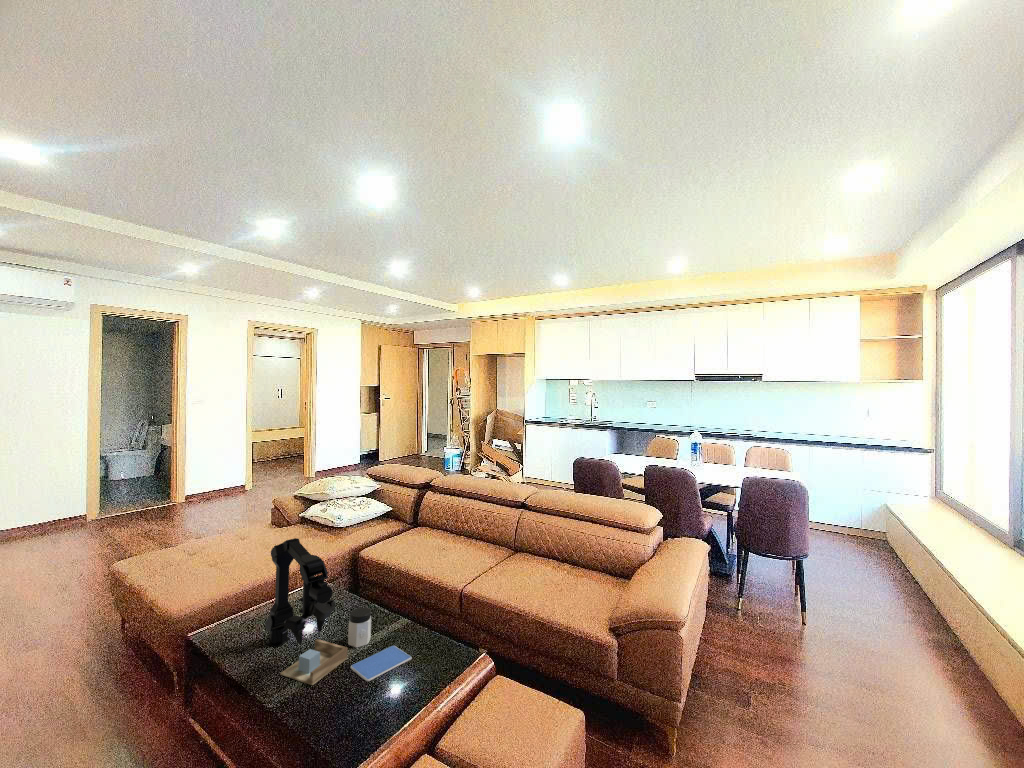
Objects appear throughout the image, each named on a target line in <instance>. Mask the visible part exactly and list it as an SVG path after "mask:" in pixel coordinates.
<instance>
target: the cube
mask: <svg viewBox="0 0 1024 768" xmlns="http://www.w3.org/2000/svg"><path fill="white" fill-rule="evenodd" d="M298 661H299V671H302V672H305V673H310V672H312V671H313V670H314V669H316V668H317V667H319V666H320V652H318V651H315V649H311V648H309V649H308V650H306V651H305V652H303V653H302V654H300V655H298Z"/></svg>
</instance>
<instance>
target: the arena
mask: <svg viewBox="0 0 1024 768" xmlns="http://www.w3.org/2000/svg"><path fill="white" fill-rule="evenodd" d="M348 649H349V648H348V647H347V646H343V645H339V644H336V643H332V642H330V641H327V640H326V641H325V640H322V639H318V638H317V639H315V640H314V650H315V651H318V652H320V666H319V667H317V668H316V669H314V670H313V671H312V672H310V673H305V672H302V671H299V660H297V661H296V662H294V663H293V664H292V665H290V666H289V667H287V668H286V669H284V670H282V671H281V672H280V676H284V677H287V678H290V679H291V680H292V679H293V680H295V681H298V682H301V683H304V684H306V685H310V686H314V685H315V684H316V683H318V682H319V681H320V680H321V679H323V678H324V677H325V676H327V675H328V674H329V673H330V672H332V671H333V670H335V669H336V668H337V667H338V666H340V665H341V664H342V663H343V662H345V661H346V660H347V659H348Z"/></svg>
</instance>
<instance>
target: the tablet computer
mask: <svg viewBox="0 0 1024 768" xmlns="http://www.w3.org/2000/svg"><path fill="white" fill-rule="evenodd" d="M412 659H413V658H412V656H411V655H410V654H407V653H406V652H405V651H403V650H402V649H400V648H399V647H397V646H396V645H391V646H389V647H387V648H385V649H383V650H381V651H379V652H377V653H374V654H372V655H370V656H368V657H367V658H364V659H362V660H360V661H357V662H356V663H353V664H351V665H350V667H349V668H350V670H351V671H353V672H354V673H356V675H358V676H359V677H360V678H361V679H362V680H364V681H365V682H371V681H372V680H374V679H376V678H378V677H379V676H382V675H383V674H385V673H387V672H389V671H391V670H393V669H395V668H397V667H399V666H401V665H403V664H405V663H407V662H409V661H411V660H412Z"/></svg>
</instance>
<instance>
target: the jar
mask: <svg viewBox="0 0 1024 768" xmlns="http://www.w3.org/2000/svg"><path fill="white" fill-rule="evenodd" d="M371 612H372V611H371V609H370V608H368V607H358V608H357V607H356V608H354V609H352V610H351V611H350V613H349V620H348V635H347V637H348V638H347V644H348V645H347V646H351V647H354V648H360V647H364V646H366V645H367V646H368V644H369V642H370V640H371V638H372V637H371V636H372V635H371V633H372V615H371Z"/></svg>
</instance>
